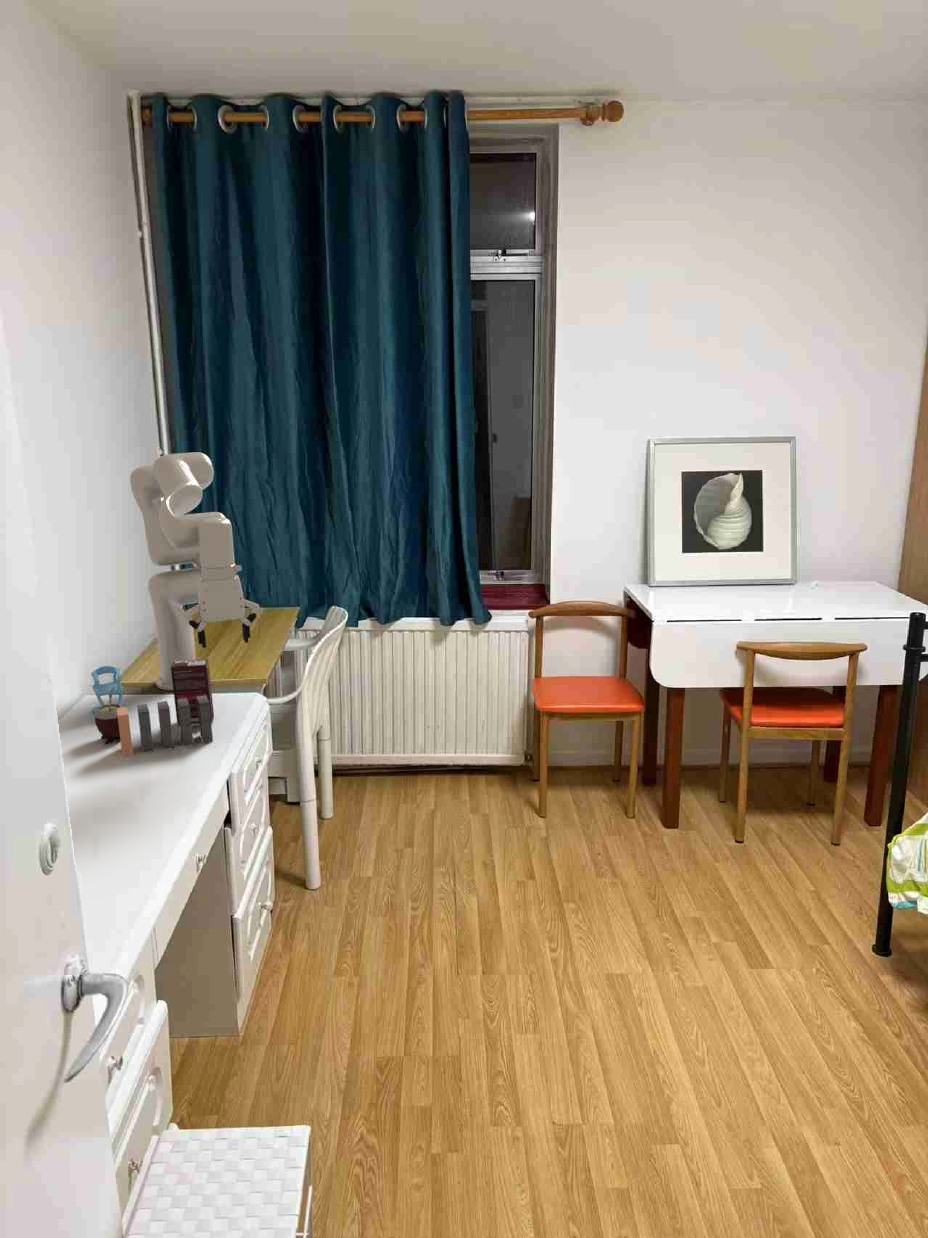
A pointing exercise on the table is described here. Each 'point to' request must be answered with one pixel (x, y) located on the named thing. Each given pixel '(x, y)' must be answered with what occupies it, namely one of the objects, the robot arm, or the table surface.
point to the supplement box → (192, 685)
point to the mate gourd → (108, 721)
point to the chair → (107, 685)
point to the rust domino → (124, 731)
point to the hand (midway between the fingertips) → (225, 643)
